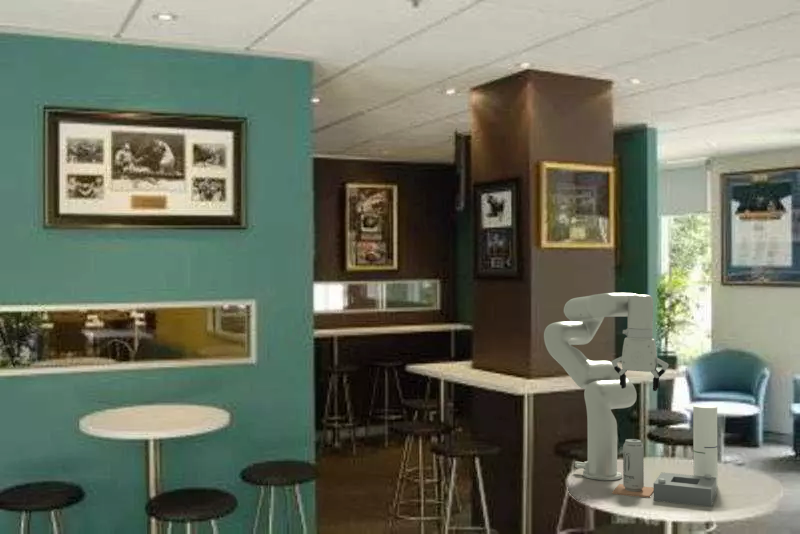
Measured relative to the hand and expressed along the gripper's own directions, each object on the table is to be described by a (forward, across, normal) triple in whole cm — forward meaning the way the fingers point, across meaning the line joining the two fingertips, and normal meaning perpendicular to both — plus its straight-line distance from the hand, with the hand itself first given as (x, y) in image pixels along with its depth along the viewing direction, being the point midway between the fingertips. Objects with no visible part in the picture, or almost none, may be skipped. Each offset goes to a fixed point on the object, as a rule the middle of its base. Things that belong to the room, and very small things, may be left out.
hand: (639, 389), depth 260 cm
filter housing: (+31, +15, -3) cm, 34 cm away
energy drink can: (+31, 0, -4) cm, 31 cm away
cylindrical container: (+31, +18, +15) cm, 39 cm away
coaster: (+31, 0, -4) cm, 31 cm away
